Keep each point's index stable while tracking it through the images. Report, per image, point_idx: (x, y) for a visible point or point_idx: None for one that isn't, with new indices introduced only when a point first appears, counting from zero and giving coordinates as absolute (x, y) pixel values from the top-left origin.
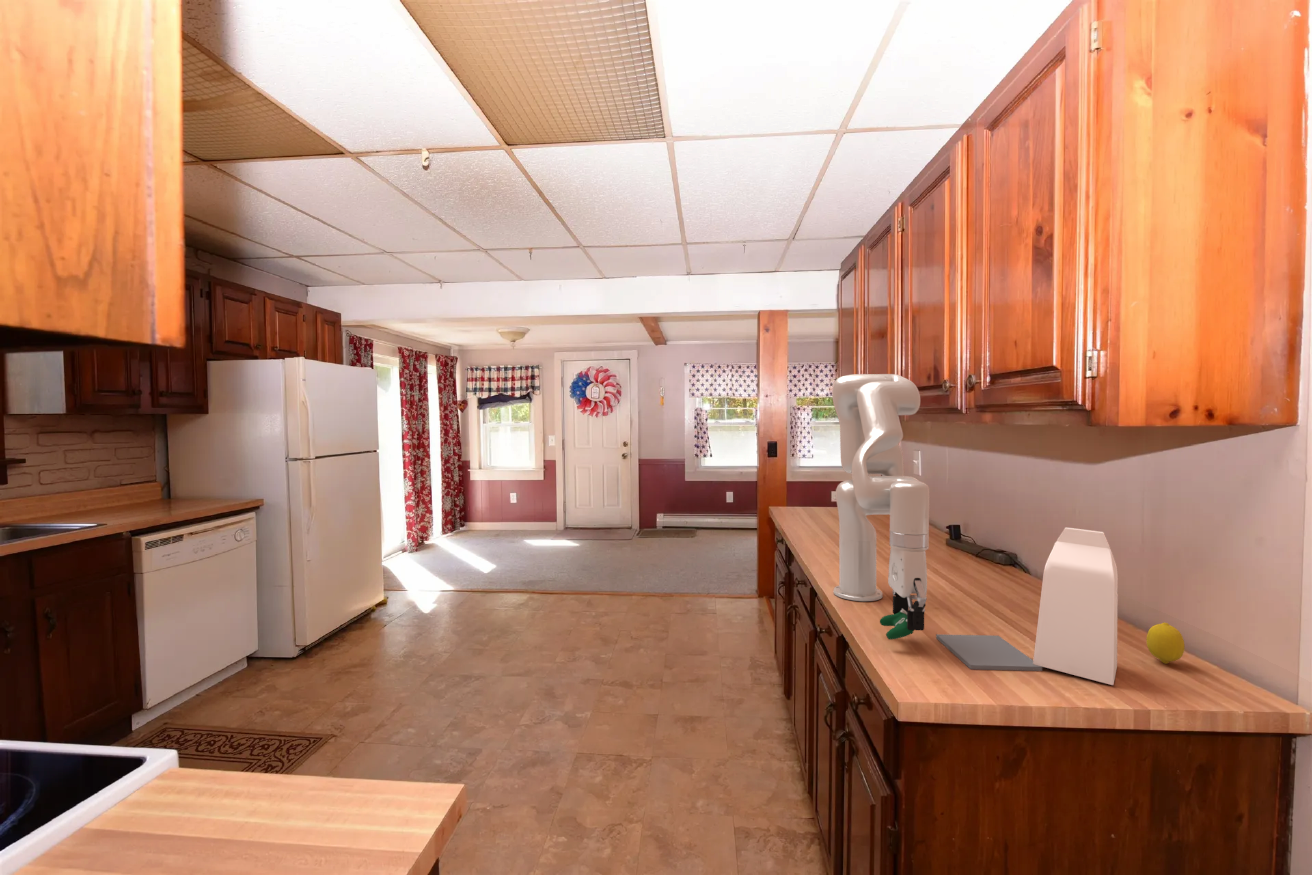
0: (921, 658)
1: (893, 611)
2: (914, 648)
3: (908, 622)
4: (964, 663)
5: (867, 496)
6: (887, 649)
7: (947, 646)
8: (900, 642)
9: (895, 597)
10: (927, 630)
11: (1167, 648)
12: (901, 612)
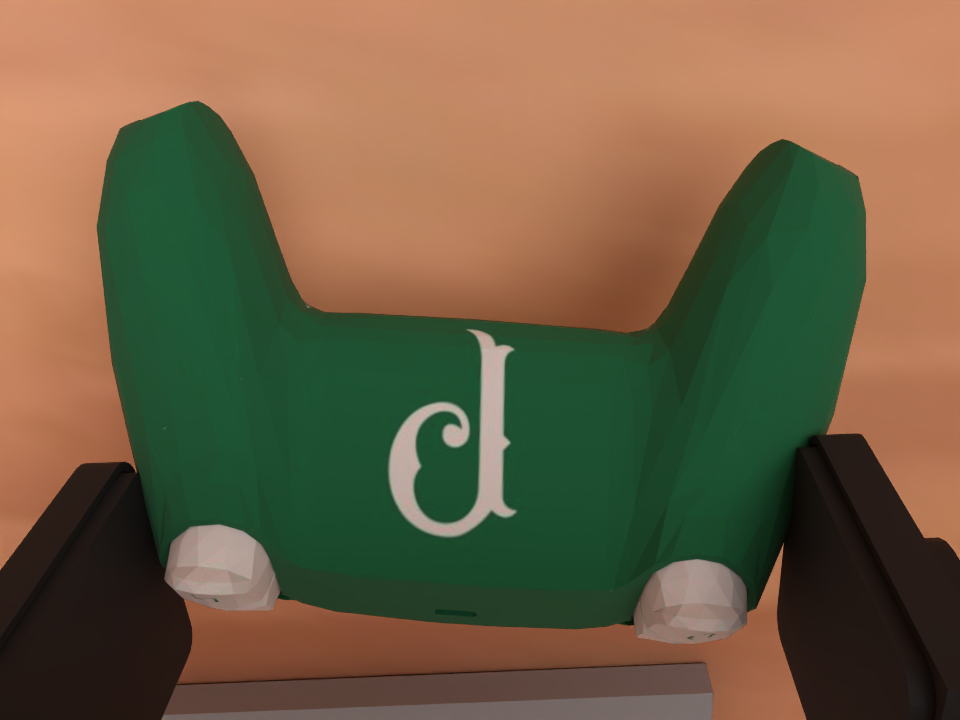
0: (89, 393)
1: (830, 454)
2: None
3: (34, 538)
4: None
5: None
6: (268, 78)
7: (434, 686)
8: (545, 301)
9: (923, 706)
10: None
11: None
12: (652, 562)
